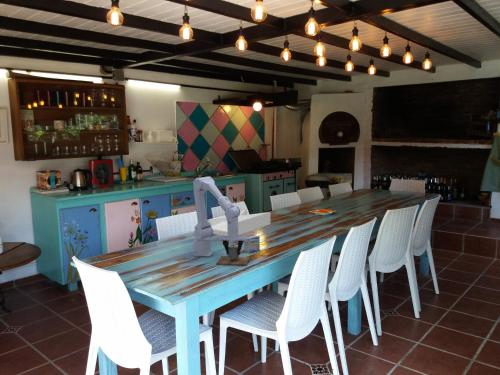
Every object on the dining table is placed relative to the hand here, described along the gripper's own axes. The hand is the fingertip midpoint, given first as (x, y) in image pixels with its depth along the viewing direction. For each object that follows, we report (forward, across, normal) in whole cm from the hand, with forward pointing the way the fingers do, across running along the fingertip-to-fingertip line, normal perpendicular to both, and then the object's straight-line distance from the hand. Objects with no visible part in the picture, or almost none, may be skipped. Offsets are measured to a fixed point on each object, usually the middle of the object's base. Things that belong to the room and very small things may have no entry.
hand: (233, 254), depth 215 cm
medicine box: (+4, +7, +20) cm, 22 cm away
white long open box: (+5, -10, +74) cm, 75 cm away
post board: (+4, 0, 0) cm, 4 cm away
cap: (+2, 0, 0) cm, 2 cm away
